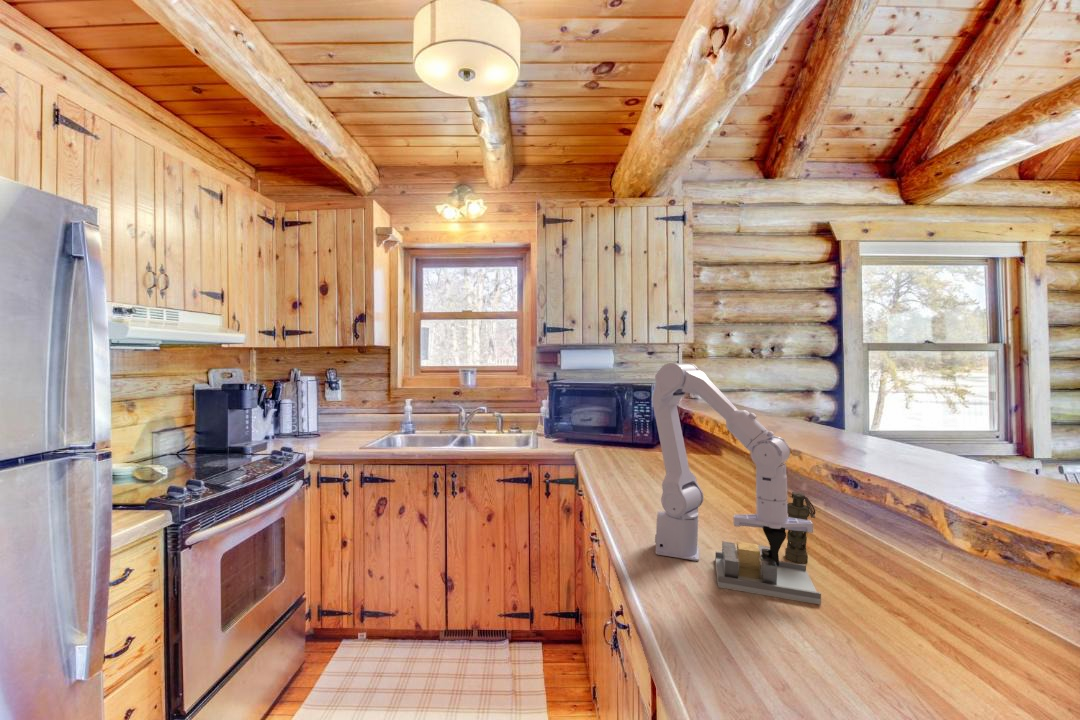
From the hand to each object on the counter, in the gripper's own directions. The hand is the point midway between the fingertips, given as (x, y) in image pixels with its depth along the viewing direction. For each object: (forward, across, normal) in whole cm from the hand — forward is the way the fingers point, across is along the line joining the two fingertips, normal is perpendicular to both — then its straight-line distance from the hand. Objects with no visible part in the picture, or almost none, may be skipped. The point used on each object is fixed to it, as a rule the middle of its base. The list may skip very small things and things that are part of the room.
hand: (772, 563), depth 96 cm
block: (+2, -5, 0) cm, 5 cm away
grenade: (+4, +8, +15) cm, 17 cm away
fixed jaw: (+3, -8, 0) cm, 9 cm away
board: (+4, -2, 0) cm, 4 cm away
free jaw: (+2, -1, 0) cm, 3 cm away
